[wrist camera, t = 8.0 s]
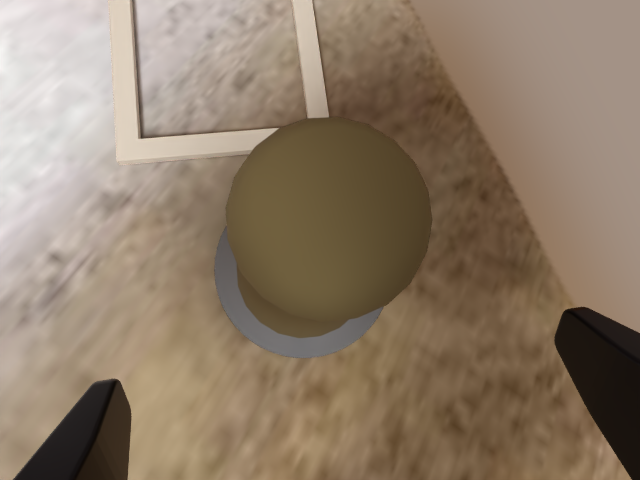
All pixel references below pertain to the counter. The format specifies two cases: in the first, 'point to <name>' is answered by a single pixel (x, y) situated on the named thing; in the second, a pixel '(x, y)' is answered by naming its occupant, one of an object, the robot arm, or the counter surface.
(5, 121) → the counter surface
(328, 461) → the counter surface
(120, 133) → the white square frame
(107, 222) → the counter surface
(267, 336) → the slate coaster
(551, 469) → the counter surface
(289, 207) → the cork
